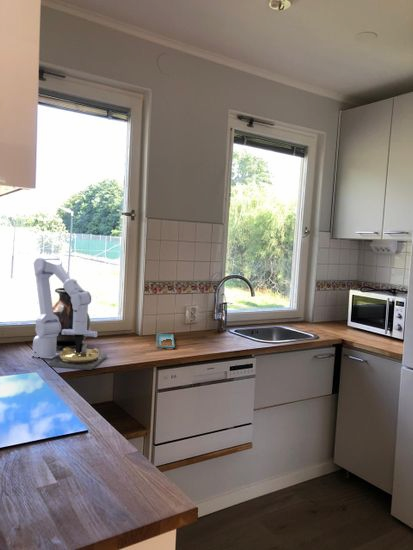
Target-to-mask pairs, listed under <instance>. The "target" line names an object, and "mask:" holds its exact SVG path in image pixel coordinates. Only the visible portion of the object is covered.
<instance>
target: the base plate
mask: <svg viewBox="0 0 413 550" xmlns="http://www.w3.org/2000/svg"><path fill="white" fill-rule="evenodd" d="M107 355H108V354H107V353H99V352H98V359H96V360H94V361H90V362H83V363H73V362H66V361H62V360H61V359H60V355H58V356H56V357H55V358H53V359H51V361H49V362H48V367H54V368H65V369H77V370H88V371H89V370H90V371H91V370H93V369H95V367H97V366H99V364H101V363H102V362H103V361H104V360H105V359H106V358H107V357H108V356H107ZM101 361H102V362H101Z"/></svg>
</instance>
